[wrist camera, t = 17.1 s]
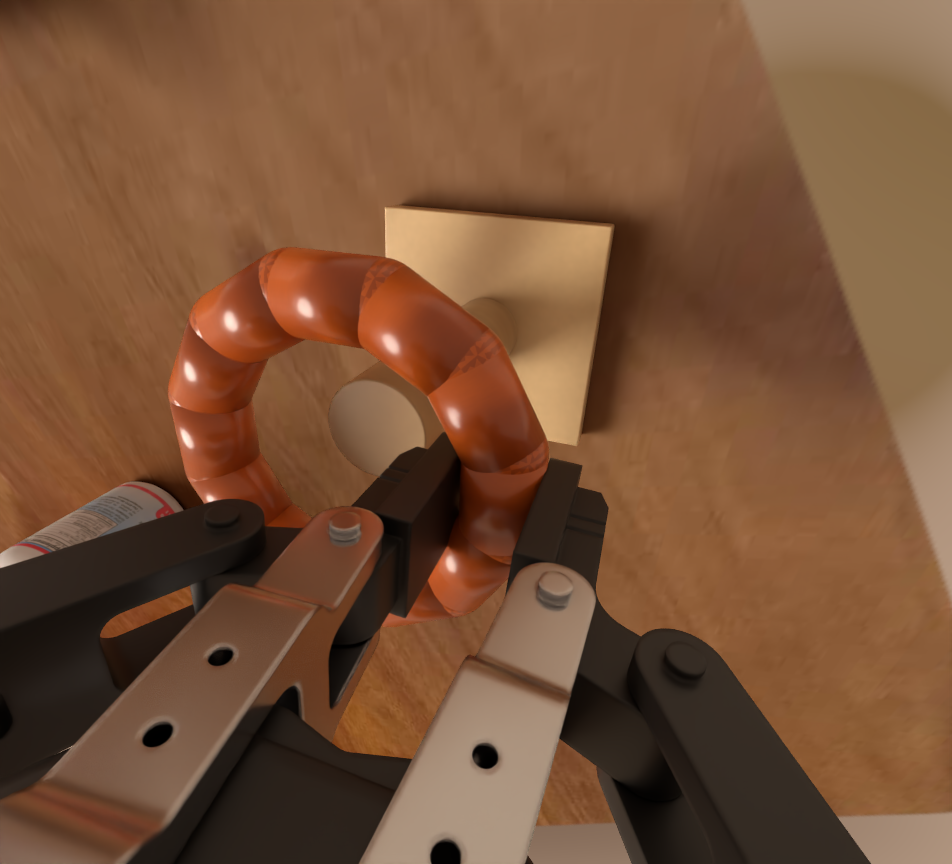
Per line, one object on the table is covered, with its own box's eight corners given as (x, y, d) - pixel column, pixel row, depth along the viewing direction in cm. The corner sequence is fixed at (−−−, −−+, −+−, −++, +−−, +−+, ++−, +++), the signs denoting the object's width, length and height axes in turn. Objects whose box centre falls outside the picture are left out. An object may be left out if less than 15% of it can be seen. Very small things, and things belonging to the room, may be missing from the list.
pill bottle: (201, 565, 37) (37, 705, 27) (127, 538, 38) (-55, 663, 28) (191, 492, 34) (5, 619, 24) (113, 465, 35) (-95, 576, 26)
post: (615, 223, 21) (572, 270, 11) (581, 435, 25) (529, 605, 15) (396, 204, 23) (200, 229, 13) (398, 402, 27) (249, 532, 17)
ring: (578, 269, 10) (560, 288, 9) (531, 629, 14) (514, 684, 13) (180, 227, 13) (110, 236, 11) (239, 545, 17) (195, 584, 15)
